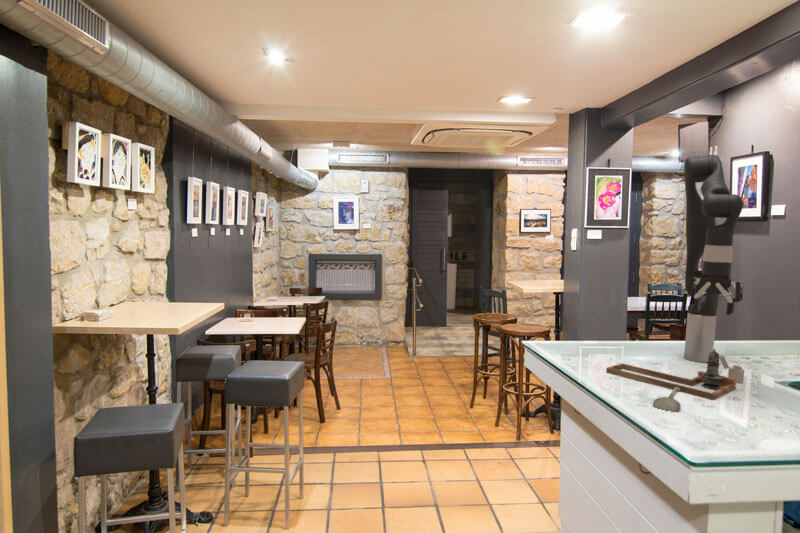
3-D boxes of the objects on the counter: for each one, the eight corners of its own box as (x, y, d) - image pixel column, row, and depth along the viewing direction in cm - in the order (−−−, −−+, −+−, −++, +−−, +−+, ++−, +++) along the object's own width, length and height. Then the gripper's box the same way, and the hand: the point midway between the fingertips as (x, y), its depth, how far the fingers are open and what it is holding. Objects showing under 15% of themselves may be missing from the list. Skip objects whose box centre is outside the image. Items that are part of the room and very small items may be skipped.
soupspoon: (649, 412, 136) (677, 419, 132) (651, 400, 135) (678, 406, 131) (665, 389, 153) (689, 395, 149) (666, 378, 153) (691, 384, 149)
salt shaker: (717, 385, 158) (721, 347, 157) (725, 391, 153) (729, 351, 152) (697, 383, 160) (700, 345, 159) (704, 389, 154) (707, 350, 153)
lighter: (743, 382, 162) (745, 357, 162) (743, 383, 161) (745, 359, 160) (717, 378, 166) (719, 354, 166) (716, 379, 165) (718, 355, 164)
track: (632, 364, 180) (632, 355, 180) (735, 388, 155) (736, 379, 155) (606, 372, 168) (607, 363, 168) (713, 400, 144) (714, 389, 144)
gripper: (687, 259, 158) (683, 310, 159) (740, 262, 147) (735, 317, 148) (696, 258, 162) (692, 308, 164) (748, 261, 152) (743, 315, 153)
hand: (713, 312), depth 156 cm, fingers open, 8 cm apart
